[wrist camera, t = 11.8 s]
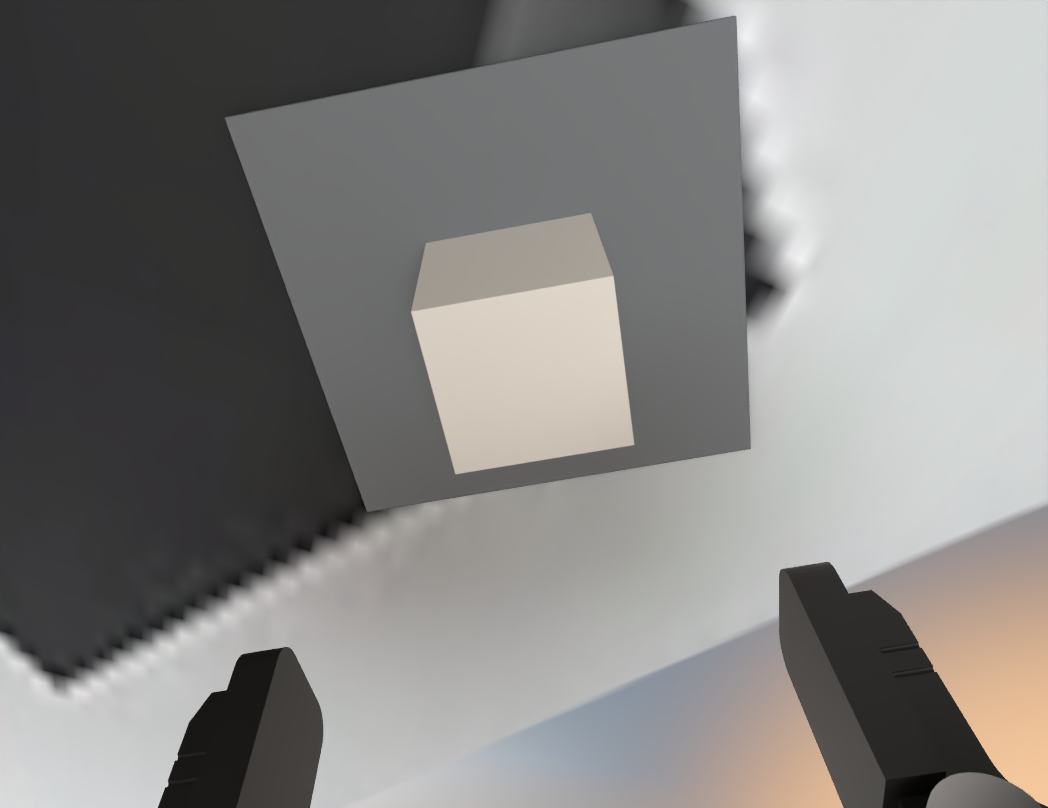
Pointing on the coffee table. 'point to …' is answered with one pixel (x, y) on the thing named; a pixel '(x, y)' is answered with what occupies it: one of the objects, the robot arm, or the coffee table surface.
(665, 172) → the mat
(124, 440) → the coffee table surface
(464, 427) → the cube
